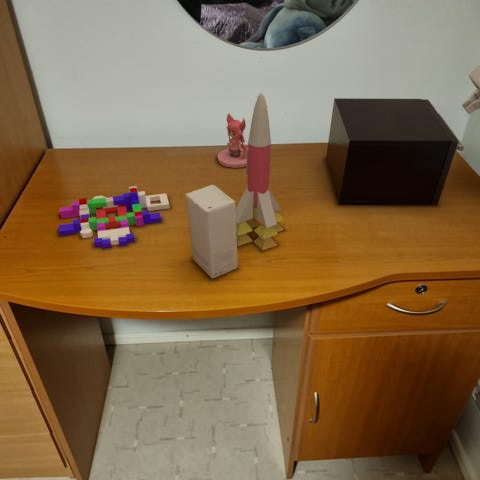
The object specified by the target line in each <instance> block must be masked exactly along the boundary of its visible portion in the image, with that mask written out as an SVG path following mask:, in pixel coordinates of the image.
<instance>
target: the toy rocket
mask: <svg viewBox="0 0 480 480" xmlns="http://www.w3.org/2000/svg"><path fill="white" fill-rule="evenodd" d="M271 149H272V139H271V128H270V119H269V112H268V105H267V101H266V98H265V95H264V94H263V93H262V92H260V93H259V94H258V96H257V99H256V101H255V104H254V108H253V113H252V117H251V122H250V129H249V135H248V142H247V159H246V166H245V167H246V169H245V170H246V171H245V175H246V176H247V186H246V188H245V189H244V192H243V193H242V196H241V198H240V199H239V201H238V204H237V206H236V207H235V211H236V237H237V247H240V246H244V245H246V244H249V243H252V242H253V243H254V244H255V245H256V246H257V247H258V248H260V249H261V250H262V251H265V250H269V249H270V248H273V247H276V246H278V244H277V243H276V241H274V239H273V238H272V237H274V236H275V237H276V236H277V235H279V232H281V231H284V228H283V227H282V225H280V223H279V222H282V221H284V220H285V219H284V218H283V217H282V216H281V214H280V213H279V211H280V210H282V208H281V206H280V204H279V203H278V201H277V200H276V198H275V196H274V195H273V193H272V191H271V190H270V186H269V185H270V173H271V172H270V169H271V153H272V152H271ZM256 220H257V221H258V222H259V223H260V225H259V224H258V223H257V221H256ZM250 232H255V233H256V234H257V235H258V236H257V238H256V239H254V240H253V239H252V237H250V236H249V234H248V233H250Z"/></svg>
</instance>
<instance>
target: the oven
mask: <svg viewBox="0 0 480 480" xmlns="http://www.w3.org/2000/svg"><path fill="white" fill-rule="evenodd" d="M327 141H328V142H327V148H326V156H325V159H326V163H327V167H328V171H329V174H330V177H331V182H332V186H333V190H334V194H335V196H336V200H337V204H338V206H431V200H432V197H433V194H434V191H435V188H436V185H437V182H438V178H439V175H440V172H441V169H442V166H443V163H444V160H445V157H446V154H447V151H448V147H449V144H450V141H451V140H450V139H449V138H448V136H447V135H446V133H445V132H444V130H443V129H442V128H441V126H440V125H439V123H438V122H437V121H436V119H435V118H434V116H433V115H432V113H431V112H430V111H429V109H428V108H427V106H426V105H425V103H424V102H423V101H422V98H348V97H347V98H345V97H344V98H343V97H342V98H340V97H339V98H337V97H336V98H333V105H332V112H331V120H330V127H329V135H328V140H327Z"/></svg>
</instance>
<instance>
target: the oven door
mask: <svg viewBox="0 0 480 480" xmlns="http://www.w3.org/2000/svg"><path fill="white" fill-rule="evenodd" d="M421 99H422V98H421ZM422 101H423V102H424V103H425V105H426V106H427V108H428V109H429V111H430V112H431V113H432V115H433V116H434V118H435V119H436V121H437V122H438V123H439V125H440V126H441V128H442V129H443V130H444V132H445V133H446V135H447V136H448V138H449V139H450V140H451V141H450V144H449V147H448V151H447V154H446V157H445V160H444V163H443V166H442V169H441V172H440V175H439V178H438V182H437V185H436V188H435V191H434V194H433V197H432V200H431V203H430V206H437V205H439V202H440V199H441V196H442V194H443V190H444V187H445V184H446V181H447V178H448V175H449V171H450V168H451V166H452V164H453V160H454V157H455V153H456V151H459V152H462V151H464V150H465V146H464V145H463V144H462V141H460V139H459V138H458V137H457V135H456V133H454V131H453V129H452V128H451V127H450V126H449V124H448V123H447V121H446V120H445V118H444V117H443V116H442V115H441V114H440V113H438V111H437V110H436V108H434V107H435V106H434V107H433V106H432V104H433V103H432V102H430V100H429V99H422ZM431 103H432V104H431Z"/></svg>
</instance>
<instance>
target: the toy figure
mask: <svg viewBox="0 0 480 480" xmlns="http://www.w3.org/2000/svg"><path fill="white" fill-rule="evenodd" d="M226 123H227V126H226V127H225V129H226V131H227V135H228V142H227V143H226V146H227V147H228V148H226V149H222V150H221V151H219V152H218V154H217V162H218V163H219V164H220V165H222V166H224V167H228V168H234V169H237V168H238V169H239V168H243V167H246V159H247V148H248V145H246V144H245V143H246V141H245V137H244V131H245V129H246V127H247V123H246V119H245V117H243V118H242V121H240V120H239V119H234V117H232V115H231V114H230V113H228V114H227V115H226Z"/></svg>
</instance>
